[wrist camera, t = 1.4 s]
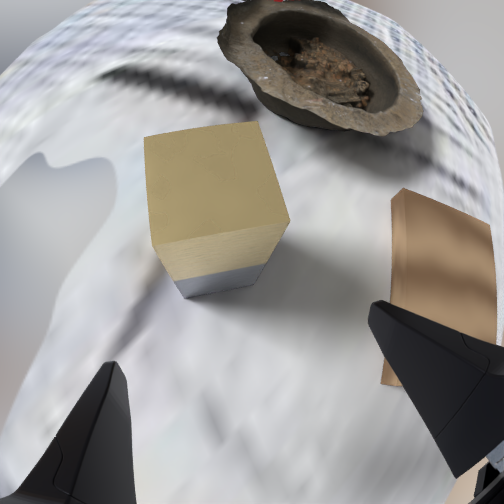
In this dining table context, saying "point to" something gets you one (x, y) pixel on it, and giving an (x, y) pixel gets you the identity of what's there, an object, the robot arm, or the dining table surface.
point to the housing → (213, 205)
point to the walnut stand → (442, 268)
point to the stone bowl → (319, 67)
